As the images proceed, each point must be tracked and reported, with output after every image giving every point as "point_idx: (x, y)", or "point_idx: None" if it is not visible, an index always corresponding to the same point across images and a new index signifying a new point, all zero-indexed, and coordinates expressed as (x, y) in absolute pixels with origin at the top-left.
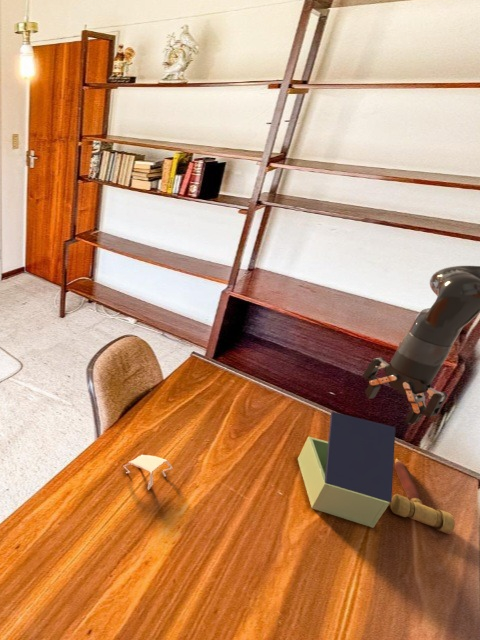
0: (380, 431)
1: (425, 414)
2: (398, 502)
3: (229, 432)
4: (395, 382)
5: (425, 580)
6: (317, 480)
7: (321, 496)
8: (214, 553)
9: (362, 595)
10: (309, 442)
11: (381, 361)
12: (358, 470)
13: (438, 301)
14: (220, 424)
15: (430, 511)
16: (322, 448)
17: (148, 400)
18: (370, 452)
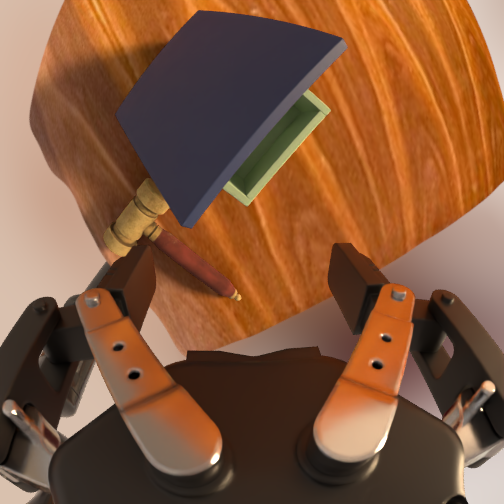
0: (198, 163)
1: (44, 300)
2: (152, 188)
3: (397, 50)
4: (305, 400)
5: (71, 121)
6: None
7: None
8: None
9: (87, 15)
10: (315, 97)
11: (493, 447)
12: (173, 65)
13: None
14: (416, 54)
15: (125, 225)
16: (295, 131)
17: (471, 9)
18: (178, 104)
